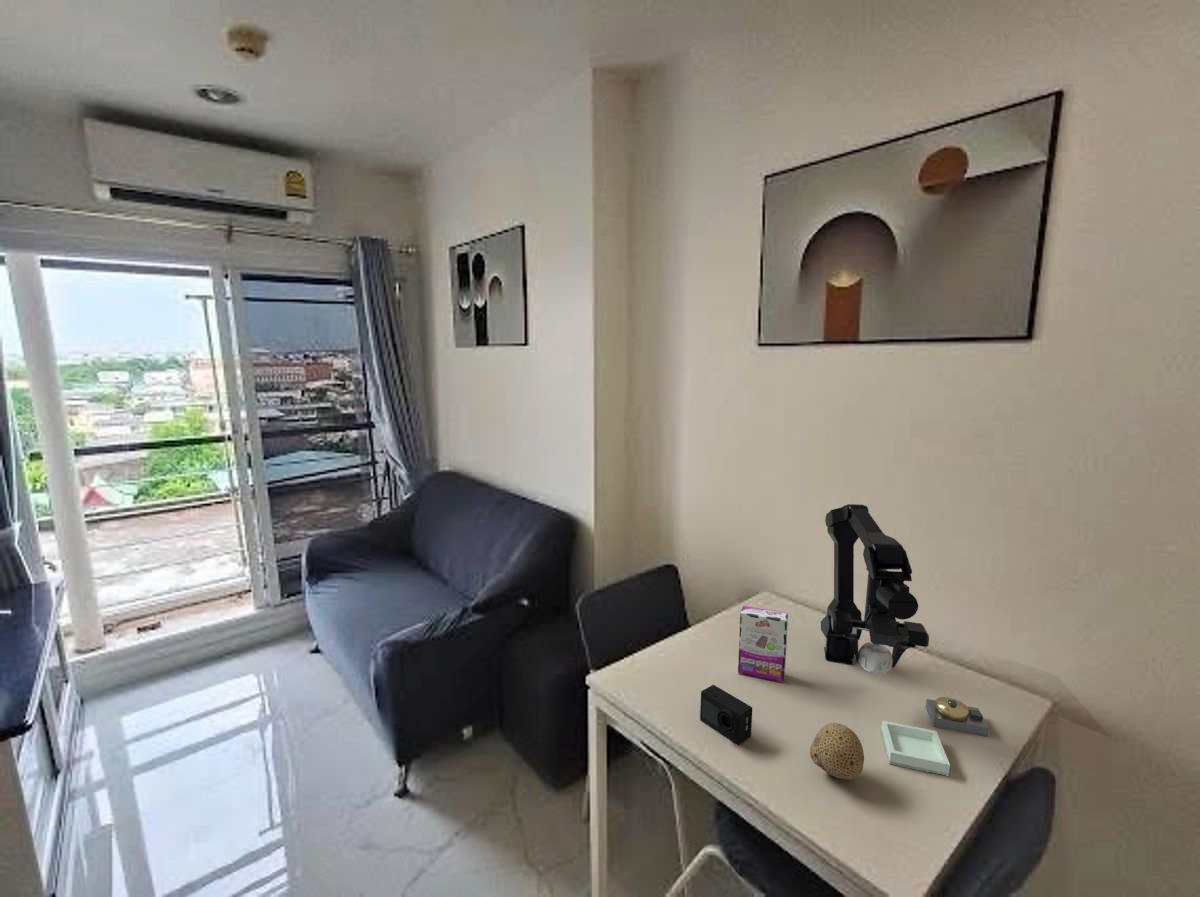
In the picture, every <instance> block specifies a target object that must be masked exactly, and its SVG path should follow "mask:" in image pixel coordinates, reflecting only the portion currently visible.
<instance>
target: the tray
mask: <svg viewBox="0 0 1200 897" xmlns="http://www.w3.org/2000/svg"><path fill="white" fill-rule="evenodd" d="M880 733H881V736H882V740H883V745H884V748H885V752H886V756H887V759H888V764H890V765H893V766H898V767H902V768H907V769H911V768H912V769H911V770H915V771H920V770H921V771H920V772H924V771H928V772H927V773H929V772H933V773H932V774H934V773H938V774H942V775H941V776H943V775H948V776H949V775H950V768H951V765H950V761H949V759H948V755H947V754H946V751H945V749H944V747H943V744H942V742H941V740H940V737H939V734H938V732H937V730H933V729H928V728H922V727H917V726H913V725H907V724H903V723H902V724H901V723H897V722H891V721H886V720H882V721H881V727H880ZM938 774H937V775H938Z"/></svg>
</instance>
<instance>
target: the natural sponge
mask: <svg viewBox="0 0 1200 897" xmlns="http://www.w3.org/2000/svg"><path fill="white" fill-rule="evenodd" d="M809 755H810V758H811V761H812V762H813V764H815V765H816V766H817V767H818V768H820V769H821V770H823V771H825V773H826V774H829V775H830V776H832V777H833V778H838V779H841V780H842V779H843V780H854V779H857V778H858V777H859V776H860V775H861V774H862V773H863V771H864V762H865V754H864V749H863V745H862V742H861V740H860V738H859V736H858V735H857V734H856V733H855V731H853V729H851V728H850V727H848V726H847V725H844V724H841V723H838V722H830V723H827V724H825V725H823V727H821V728H820V729H819V730H818V731H817V733H816V735H815V737H814V739H813V741H812V743H811V746H810V748H809Z"/></svg>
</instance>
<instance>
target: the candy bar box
mask: <svg viewBox="0 0 1200 897" xmlns="http://www.w3.org/2000/svg"><path fill="white" fill-rule="evenodd" d="M788 619H789V613H788V612H786V611H778V610H773V609H767V608H761V607H754V606H748V605H742V608H741V611H740V614H739V639H738V640H739V641H738V659H737V660H738V662H737V663H738V664H737V673H738V674H739V675H743V676H746V677H747V676H748V677H751V678H752V677H753V678H756V679H758V678H759V679H762V680H767V681H773V682H778V683H783V684H784V682H785V676H786V660H787V645H788V644H787V642H788V623H789V622H788V621H789V620H788Z"/></svg>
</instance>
